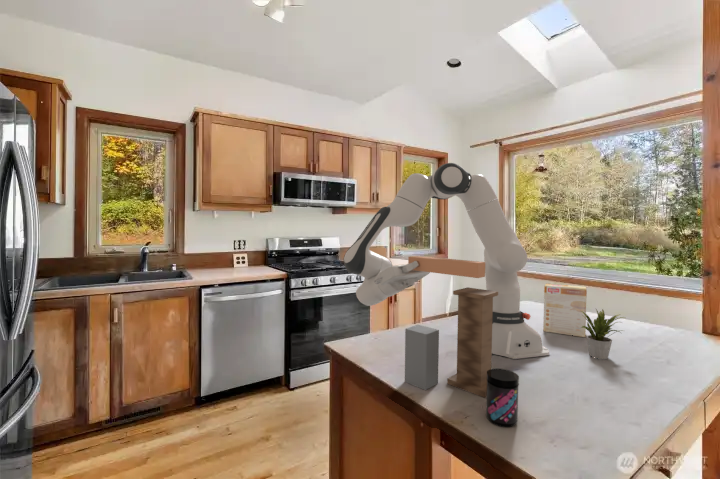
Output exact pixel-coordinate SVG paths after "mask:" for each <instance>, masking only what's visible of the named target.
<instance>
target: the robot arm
mask: <svg viewBox="0 0 720 479" xmlns="http://www.w3.org/2000/svg"><path fill="white" fill-rule="evenodd" d="M455 196H456V197H458V198H459V199H460V200H461V201H462V203H463V205H464V208H465V210H466V213H467V215H468V217H469V219H470V221H471V224H472V226H473V228H474V229H473V230H475V233H476V234H477V236H478V238H479V239H480V241H481V243H482V245H483V247H484V250H483V260H484V261H483V262H485V277H484V278H485V286H486V287H485V290H490V291H497V292H498V296H495V297H493V316H492V355H497V356H503V357H506V358H509V359H513V360H517V359H519V360H520V359H527V358H535V357H544V356H545V357H546V356H550V350H549V349H548V348H547V347H545V346H544V345H543V340H542V337H541V334H540V333H539V332H538V331H536V330H535V329H534V328H533V327H531V325H529V324H528V323H527V322H526V321H525V319H526V320H527V321H528V320H530V319H531V318H532V317H531V314H530V313H527V312H523V311H521V308H520V306H521V301H520V300H521V287H520V285H519V278H518V272H519V271H521V270H523V269H524V268H525V266H526V264H528V253H527V251H526V250H525V248H524V247H523V245H522V243H521V241H520V240H519V238H518V235H517V234H516V233H515V230H514V229H513V227H512V226H511V224H510V223H509V221H508V219H507V217H506V215H505V213H504V210H503V208H502V205H501V204H500V201H499V199H498V197H497V194H496V193H495V190H494V189H493V187H492V185H491V184H490V182H489V181H488V179H487V178H486V176H484V174H479V173H478V174H477V173H476V174H475V173H474V174H471V173H470V172H468V171H467V170H466V169H464V168H463V167H462V166H461V165H459V164H457V163H454V162H447V163H444V164H442V165H440V166H439V167H438V168H437V169H436V170H435V171H433V173H432V175H426V174H423V173H419V172H418V173H411V174H410V175H409V176H408V177H407V178H406V179H405V181H404V182H403V184H402V186H401V187H400V188H399V189H398V191H397V193H396V195H395V198H394V199H393V200H392V202H391V203H390V204H388V205H387V206H383V207H381V208H380V209H378V210H377V212H376V213H375V214H374V216H373V217H372V218H371V220H370V221H369V222H368V224H367V225H366V226H365V228H364V230H363V231H362V232H361V233H360V235H359V236H358V238H357V239H356V240H355V242H353V244H351V245H350V246H349V248H348V249H347V250H346V251H345V254H344V256H343V259H342V260H343V264H344V268H345V269H346V271H347V272H348V273H350V274H353V275H356V276H360V277H362V278H364V279H363V282H362V283H361V284H360V286H358V287H357V289H356V290H355V296H356V298H357V299H358V301H359V302H360V303H361V304H362V305H364V306H367V307H370V306H374V305H377V304H380V303H381V302H383V301H386V299H388V298H389V297H392V296H394V295H397V294H398V293H401V292H402V291H404V290H405V289H408V288H410V287H411V288H412V287H413V286H415V283H416V282H418V281H420V280H422V279H423V278H425V277H426V276H428V275H429V274H431V272H424V271H416V270H413V269H414V268H417V267H419V266H420V263H419V261H414V262H412V263H410V264H408V263H407V264H399V265H393V264H392V261H391V260H390V259H389V258H388V257H385V256H384V255H381V254H379V253H377V252H375V251H373V250H370V248H371V246H373V244H374V242H375V240H376V239H377V238H378V237H379V235H380V233H382V231H383V230H384V229H387V228H391V227H396V228H397V227H398V228H406V227H410V226H413V225H414V224H416V223H417V222H418V220H419V219H420V218H421V215H422V214H423V213H424V210H425V208H426V206H427V204H428V202H429V201H430V199H437V200H448V199H451V198H452V197H455Z"/></svg>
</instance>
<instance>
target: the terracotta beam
mask: <svg viewBox="0 0 720 479" xmlns="http://www.w3.org/2000/svg"><path fill="white" fill-rule="evenodd" d="M407 261H408V263H407V264H410V263H412V262H414V261H419V263H420V266H419V267H417V268H414V269H413V270H416V271H424V272H430V273H433V274H442V275H447V276H449V275H451V276H458V277H463V278H464V277H467V278H472V279H473V278H474V279H482V278H486V277H485V262H484V261H477V260H468V259H467V260H465V259H464V260H463V259H454V258H445V257H444V258H442V257H431V256H419V255H415V256H414V255H413V256H408V260H407Z"/></svg>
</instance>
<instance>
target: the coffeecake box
mask: <svg viewBox="0 0 720 479" xmlns="http://www.w3.org/2000/svg"><path fill="white" fill-rule="evenodd" d="M543 292H544V293H543V294H544V295H543V324H542V325H543V326H542V327H543V332H545V333H546V332H547V333H552V334H560V335H565V336H572V335H573V336H574V337H579V338H580V337H581V338H586V330H587V329H585V328H581V327H582V326H586V327H587V320H586V319H587V318H586V316H585V315H584V314H583V313H582V312H581V311H583V312H584V313H585V314H587V292H588V291H587V286H581V285H571V284H570V285H568V284H556V283H545V285H544V290H543ZM582 315H583V316H584V317H583V316H582ZM573 336H572V337H573Z"/></svg>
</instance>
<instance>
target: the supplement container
mask: <svg viewBox="0 0 720 479" xmlns="http://www.w3.org/2000/svg"><path fill="white" fill-rule="evenodd" d="M519 382H520V377H519V375H518V374H517V373H516V372H514V371H512V370H509V369H505V368H491V369H490V370H488V371H487V393H486V402H485V405H486V406H485V416H486V419H487V420H488V421H489V422H490V423H492V424H493V425H496V426H498V427H503V428H511V427H515V425H516V424H518V420H519V419H518V418H519V417H518V415H519V388H520V387H519V386H520V383H519Z"/></svg>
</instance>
